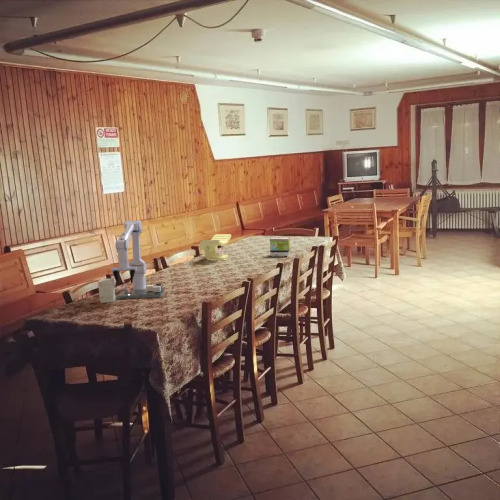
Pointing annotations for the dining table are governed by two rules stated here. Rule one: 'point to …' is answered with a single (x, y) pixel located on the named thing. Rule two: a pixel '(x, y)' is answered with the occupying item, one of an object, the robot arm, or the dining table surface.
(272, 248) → the tea box
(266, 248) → the dining table surface
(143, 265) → the robot arm
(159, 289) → the grey block
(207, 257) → the slatted curved stool
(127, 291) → the red lever
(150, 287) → the cream block
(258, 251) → the dining table surface
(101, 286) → the small box
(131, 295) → the console
